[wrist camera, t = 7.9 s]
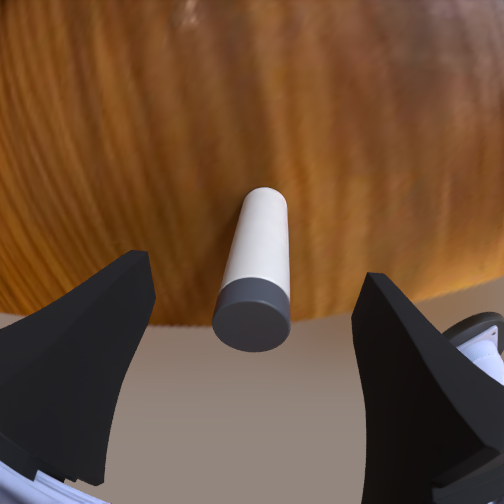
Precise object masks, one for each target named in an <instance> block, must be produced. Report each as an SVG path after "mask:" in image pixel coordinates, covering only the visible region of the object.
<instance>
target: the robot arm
mask: <svg viewBox="0 0 504 504" xmlns="http://www.w3.org/2000/svg"><path fill="white" fill-rule="evenodd" d="M155 299H156V296H155V291H154V285H153V280H152V274H151V269H150V263H149V256H148V252H146V251H137V250H131V251H129V252H127V253H126V254H124V255H122V256H121V257H119V258H118V259H116V260H115V261H114V262H112V263H111V264H109V265H108V266H106V267H105V268H103V269H102V270H101V271H99V272H98V273H96V274H95V275H93V276H92V277H91V278H89V279H88V280H86V281H85V282H83V283H82V284H80V285H79V286H77V287H76V288H74V289H73V290H71V291H70V292H68V293H67V294H65V295H64V296H62V297H61V298H59V299H58V300H56V301H54V302H53V303H51V304H49V305H48V306H46V307H44V308H42V309H41V310H39V311H37V312H35V313H33V314H31V315H29V316H27V317H25V318H23V319H21V320H19V321H17V322H15V323H13V324H11V325H9V326H7V327H4V328H2V329H0V504H111V503H108V502H105V501H103V500H100V499H97V498H95V497H93V496H90V495H88V494H86V493H83V492H81V491H79V490H77V489H74V488H72V487H70V486H68V485H66V484H64V480H65V478H66V479H68V480H71V481H73V482H76V480H77V479H79V480H81V481H84V482H86V483H88V484H91V485H94V486H98V485H100V484H102V483H104V473H105V463H106V453H107V446H108V441H109V435H110V429H111V424H112V420H113V415H114V411H115V407H116V403H117V399H118V396H119V392H120V389H121V385H122V382H123V380H124V377H125V374H126V372H127V370H128V367H129V365H130V363H131V360H132V358H133V356H134V354H135V351H136V349H137V347H138V345H139V342H140V340H141V338H142V336H143V334H144V331H145V329H146V327H147V325H148V322H149V319H150V316H151V313H152V310H153V306H154V303H155ZM351 320H352V333H353V344H354V349H355V354H356V359H357V364H358V369H359V374H360V379H361V384H362V390H363V394H364V402H365V410H366V467H365V480H364V488H363V496H362V502H361V504H504V363H503V361H502V359H501V357H500V355H499V353H498V351H497V341H498V328H497V326H496V325H494V326H492V327H490V328H489V329H487V330H485V331H484V332H482V333H480V334H479V335H477V336H475V337H474V338H472V339H470V340H469V341H467V342H465V343H463V344H462V345H460V346H458V347H454V346H453V345H452V344H451V343H450V342H449V341H448V340H447V339H446V338H445V337H444V336H443V335H442V334H441V333H440V332H439V331H438V330H437V329H436V328H435V327H434V326H433V325H432V324H431V323H430V322H429V321H428V320H427V319H426V318H425V317H424V315H423V314H422V313H421V312H420V311H419V310H418V309H417V308H416V307H415V306H414V305H413V304H412V302H411V301H410V300H409V299H408V298H407V297H406V296H405V295H404V294H403V293H402V292H401V290H400V289H399V288H398V287H397V286H396V285H395V284H394V283H393V282H392V281H391V280H390V279H389V278H388V277H387V276H386V275H385V274H383V273H371V272H367V274H366V277H365V280H364V283H363V286H362V289H361V292H360V295H359V297H358V300H357V303H356V306H355V308H354V311H353V314H352V317H351Z"/></svg>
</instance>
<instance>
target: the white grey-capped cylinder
mask: <svg viewBox="0 0 504 504" xmlns="http://www.w3.org/2000/svg"><path fill="white" fill-rule="evenodd" d="M212 326H213V330H214V332H215V334H216V335H217V337H218V338H219V339H220V340H221V341H222V342H224V343H225V344H226V345H228V346H230V347H232V348H234V349H237V350H241V351H246V352H263V351H268V350H271V349H274V348H276V347H278V346H279V345H281V344H282V343H283V342H284V341H285V340H286V338H287V337H288V335H289V332H290V276H289V242H288V217H287V204H286V201H285V199H284V197H283V196H282V195H281V194H280V193H279V192H278V191H276V190H274V189H271V188H258V189H255V190H253V191H251V192H250V193H249V194H248V195H247V196H246V197H245V199H244V202H243V205H242V209H241V212H240V216H239V220H238V223H237V227H236V231H235V234H234V238H233V242H232V245H231V249H230V253H229V256H228V260H227V264H226V268H225V271H224V275H223V279H222V283H221V287H220V290H219V295H218V298H217V302H216V306H215V310H214V314H213V318H212Z"/></svg>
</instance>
